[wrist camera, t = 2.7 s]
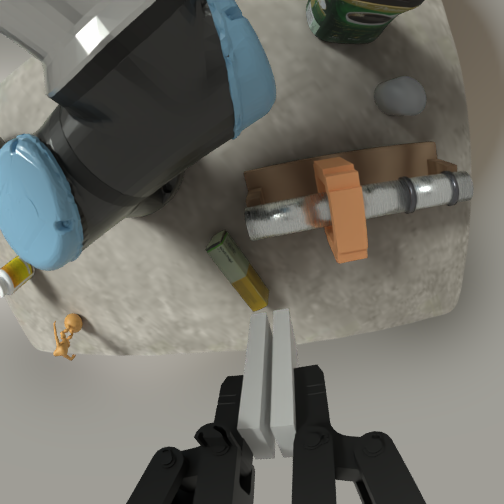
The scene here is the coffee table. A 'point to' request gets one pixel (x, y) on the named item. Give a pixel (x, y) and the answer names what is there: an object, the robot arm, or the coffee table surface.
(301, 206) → the pipe
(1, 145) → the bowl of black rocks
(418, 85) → the gray egg
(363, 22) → the coffee jar
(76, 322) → the figurine
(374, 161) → the stand
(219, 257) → the medication box
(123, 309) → the coffee table surface
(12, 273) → the supplement bottle
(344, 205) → the ring
